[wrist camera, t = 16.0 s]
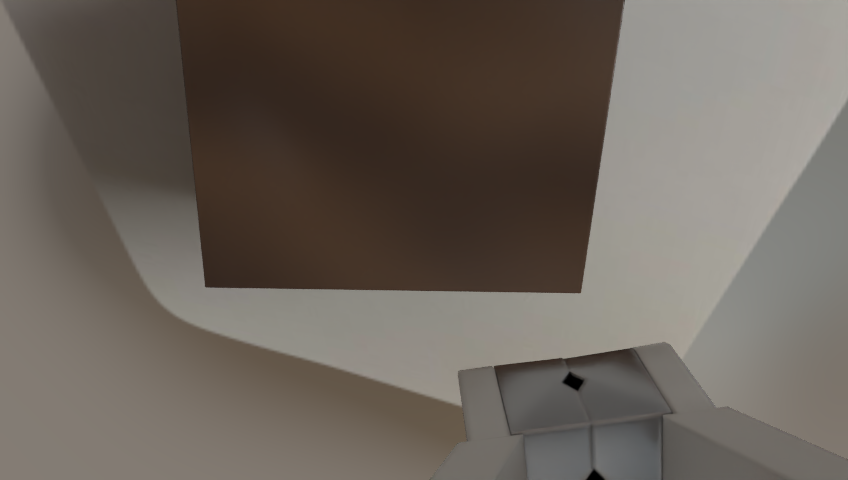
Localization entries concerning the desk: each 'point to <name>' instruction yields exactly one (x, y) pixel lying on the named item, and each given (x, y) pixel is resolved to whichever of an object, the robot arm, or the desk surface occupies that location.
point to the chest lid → (397, 140)
